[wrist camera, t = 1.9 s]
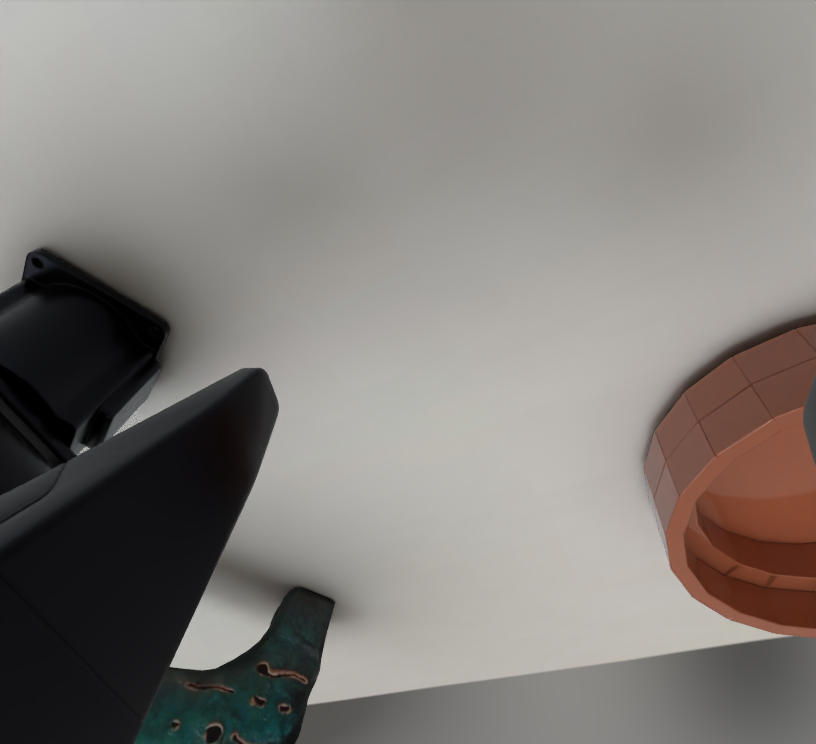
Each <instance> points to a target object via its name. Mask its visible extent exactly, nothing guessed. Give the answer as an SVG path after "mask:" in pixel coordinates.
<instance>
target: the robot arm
mask: <svg viewBox="0 0 816 744" xmlns="http://www.w3.org/2000/svg"><path fill="white" fill-rule="evenodd" d="M39 259H40V260H41V261H42V262H43V263H42V262H40V260H39ZM154 326H155V327H157V328H158V329H159V331H158V330H156V329H155V327H154ZM169 331H170V328H169V325H168V324H167V323H166V322H165V321H164V320H163V319H161V318H159V317H158V316H156V315H154V314H153V313H151V312H149V311H148V310H146V309H144V308H142V307H141V306H139V305H137V304H136V303H134V302H132V301H131V300H129V299H127V298H126V297H124V296H122V295H120V294H119V293H117V292H115V291H114V290H112V289H110V288H109V287H107V286H105V285H103V284H102V283H100V282H98V281H97V280H95V279H93V278H92V277H90V276H88V275H86V274H85V273H83V272H81V271H80V270H78V269H76V268H75V267H73V266H71V265H70V264H68V263H66V262H64V261H63V260H61V259H59V258H58V257H56V256H54V255H53V254H51V253H49V252H47V251H46V250H43V249H36V250H34V251H32V252H30V253H28V255H27V257H26V262H25V266H24V271H23V276H22V281H21V282H20V283H18V284H16V285H14V286H13V287H11V288H9V289H7V290H6V291H4V292H2V293H0V744H134V743H135V741H136V738H137V736H138V734H139V732H140V730H141V728H142V725H143V720H145V718H146V716H147V714H148V712H149V710H150V707H151V705H152V703H153V701H154V699H155V697H156V694H157V692H158V690H159V688H160V686H161V684H162V682H163V679H164V677H165V675H166V673H167V671H168V669H169V666H170V664H171V662H172V660H173V658H174V656H175V653H176V651H177V649H178V647H179V645H180V643H181V640H182V638H183V636H184V634H185V632H186V630H187V628H188V625H189V623H190V621H191V619H192V617H193V615H194V612H195V610H196V608H197V606H198V604H199V602H200V599H201V597H202V595H203V593H204V591H205V589H206V587H207V584H208V582H209V580H210V578H211V576H212V574H213V571H214V569H215V567H216V565H217V563H218V561H219V558H220V556H221V554H222V552H223V550H224V548H225V545H226V543H227V541H228V539H229V537H230V535H231V533H232V530H233V528H234V526H235V524H236V522H237V520H238V517H239V515H240V513H241V511H242V509H243V507H244V504H245V502H246V500H247V498H248V496H249V494H250V491H251V489H252V487H253V485H254V482H255V480H256V477H257V474H258V472H259V469H260V466H261V463H262V460H263V457H264V454H265V451H266V448H267V445H268V443H269V440H270V437H271V434H272V431H273V428H274V425H275V422H276V419H277V416H278V411H279V405H278V400H277V397H276V395H275V392H274V389H273V387H272V384H271V382H270V379H269V376H268V374H267V372H266V371H265V370H264V369H262V368H243V369H240V370H238V371H236V372H234V373H233V374H231V375H229V376H227V377H225V378H223V379H221V380H219V381H217V382H216V383H214V384H212V385H210V386H208V387H206V388H204V389H202V390H200V391H199V392H197V393H195V394H193V395H191V396H189V397H187V398H185V399H183V400H182V401H180V402H178V403H176V404H174V405H172V406H170V407H168V408H166V409H165V410H163V411H161V412H159V413H157V414H155V415H153V416H151V417H149V418H148V419H146V420H144V421H142V422H140V423H138V424H136V425H134V426H132V427H131V428H129V429H127V430H125V431H123V432H121V433H119V434H117V435H115V436H114V437H112V436H113V435H114V434H115V433H116V432H117V431H118V430H119V428H120V427H121V426H122V425H123V424H124V423H125V422H126V421H127V420H128V419H129V418H130V416H131V415H132V414H133V413H134V412H135V411H136V410H137V409H138V408H139V407H140V405H141V404H142V403H143V402H144V401H145V400H146V399H147V398H148V396H149V394H150V391H151V389H152V387H153V385H154V383H155V381H156V378H157V376H158V374H159V372H160V370H161V363H160V361H158V360H157V359H158V357H159V354H160V352H161V350H162V348H163V346H164V343H165V341H166V339H167V337H168V334H169ZM803 425H804V429H805V432H806V436H807V439H808V443H809V446H810V449H811V453H812V456H813V460H814V463H815V466H816V375H815V377H814V380H813V383H812V386H811V389H810V392H809V395H808V399H807V402H806V405H805V408H804V411H803ZM111 437H112V438H111ZM85 446H86V447H88V448H90V449H89V450H87V451H85V452H83V453H81V454H80V455H78V454H79V452H80V451H81V450H82V449H83V448H84V447H85ZM77 455H78V456H77Z"/></svg>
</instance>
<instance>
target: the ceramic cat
mask: <svg viewBox="0 0 816 744" xmlns="http://www.w3.org/2000/svg"><path fill="white" fill-rule="evenodd" d="M334 604H335V602H333V601H331V600H328V599H326V598H324V597H321V596H319V595H317V594H314V593H312V592H310V591H307V590H305V589H302V588H298V589H294V590H291V591H290V592H289V593H288V594H287V595H286V596H285V597H284V599H283V601H282V603H281V605H280V606H279V607H278V609H277V610H276V612H275V614H274V616H273V619H272V621H271V625H270V628H269V629H268V630H267V632H266V633H265V634H264V636H263V637H262V639H261V640H260V641H259V642H258V643H257V644H255V645H254V646H253V647H252V648H251V649H249V650H248V651H246V652H245V653H243V654H242V655H240V656H238V657H237V658H235V659H234V660H232V661H230V662H228V663H226V664H224V665H222V666H220V667H218V668H216V669H211V670H203V671H201V670H191V669H180V668H173V667H169V669H168V671H167V673H166V675H165V677H164V679H163V682H162V684H161V686H160V688H159V690H158V692H157V694H156V697H155V699H154V701H153V703H152V705H151V707H150V710H149V712H148V714H147V716H146V718H145V720H143V725H142V728H141V730H140V732H139V734H138V736H137V738H136V741H135V743H134V744H295V742H296V740H297V739H298V736H299V734H300V731H301V726H302V722H303V718H304V714H305V710H306V706H307V701H308V698H309V695H310V693H311V690H312V688H313V686H314V684H315V682H316V679H317V677H318V674H319V671H320V665H321V657H322V652H323V647H324V643H325V638H326V634H327V630H328V626H329V623H330V619H331V615H332V611H333V608H334Z"/></svg>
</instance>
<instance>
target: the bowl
mask: <svg viewBox="0 0 816 744" xmlns="http://www.w3.org/2000/svg"><path fill="white" fill-rule="evenodd" d="M815 375H816V324H814V325H809V326H804V327H799V328H796V330H795V329H793V330H791V331H788V332H786V333H784V334H782V335H779V336H777V337H775V338H773V339H770V340H768V341H766V342H763V343H761V344H759V345H757V346H754V347H752V348H750V349H748V350H745V351H743V352H741V353H739V354H736V355H734V356H733V357H730V358H729V359H727V360H726V361H725V362H723V363H722V364H721V365H719V366H718V367H717V368H715V369H714V370H713V371H711V372H710V373H709V374H707V375H706V376H705V377H703V378H702V379H701V380H699V381H698V382H697V383H695V384H694V385H693V386H691V387H690V388H689V389H687V390H686V391H685V393H683V394H682V395H681V397H680V398H679V399H678V401H677V402H676V403H675V405H674V406H673V407H672V409H671V410H670V411H669V413H668V414H667V415H666V417H665V418H664V419H663V421H662V422H661V423H660V425H659V426H658V427H657V428H656V430H655V431H654V435H653V438H652V442H651V445H650V448H649V452H648V455H647V459H646V462H645V466H644V473H645V479H646V484H647V490H648V496H649V501H650V505H651V508H652V511H653V514H654V517H655V521H656V524H657V527H658V530H659V533H660V537H661V540H662V543H663V546H664V549H665V553H666V556H667V559H668V562H669V566H670V568H671V570H672V571H673V573H674V574H675V575H676V577H677V578H678V579H679V581H680V582H681V583H682V584H683V586H684V587H685V588H686V590H687V591H688V592H689V594H690V595H691V596H692V597H693V598H694V599H696V600H697V601H699V602H701V603H702V604H704V605H706V606H707V607H709V608H711V609H712V610H714V611H715V612H717V613H719V614H720V615H722V616H724V617H725V618H727V619H729V620H732V621H735V622H738V623H742V624H745V625H748V626H752V627H755V628H758V629H762V630H765V631H768V632H772V633H776V634H783V635H793V636H802V637H812V638H816V466H815V463H814V460H813V456H812V453H811V449H810V446H809V443H808V439H807V436H806V432H805V429H804V425H803V411H804V408H805V405H806V402H807V399H808V395H809V392H810V389H811V386H812V383H813V380H814V377H815Z"/></svg>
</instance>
